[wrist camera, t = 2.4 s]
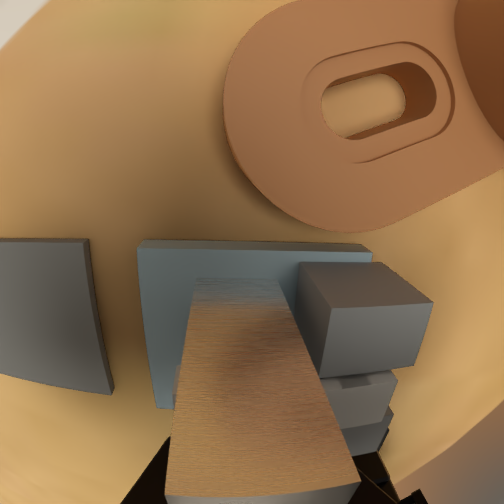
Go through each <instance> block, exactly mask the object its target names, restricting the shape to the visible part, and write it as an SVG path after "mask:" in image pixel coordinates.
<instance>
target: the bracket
mask: <svg viewBox="0 0 504 504" xmlns="http://www.w3.org/2000/svg"><path fill="white" fill-rule="evenodd" d="M377 73H383V74H387V75H389V76H391V77H393V78H394V79H395V80H397V81H398V83H399V84H400V85H401V87H402V88H403V90H404V93H405V96H406V108H405V111H404V113H403V114H402V116H401V117H400V118H399V119H397V120H395V121H392V122H389V123H386V124H384V125H381V126H378V127H375V128H372V129H369V130H367V131H364V132H361V133H358V134H356V135H353V136H350V137H347V138H342V137H340V136H339V135H337V134H336V133H334V132H333V131H332V130H331V129H330V128H329V126H328V125H327V124H326V122H325V120H324V118H323V115H322V111H321V98H322V95H323V92H324V90H325V89H326V88H328V87H331V86H335V85H338V84H341V83H345V82H348V81H351V80H355V79H358V78H362V77H366V76H369V75H373V74H377ZM223 120H224V128H225V133H226V138H227V141H228V144H229V147H230V149H231V152H232V154H233V156H234V158H235V160H236V162H237V164H238V165H239V167H240V169H241V170H242V171H243V173H244V174H245V176H246V177H247V178H248V179H249V180H250V182H251V183H252V184H253V185H254V186H255V187H256V188H257V189H258V190H259V191H260V192H261V193H262V194H263V195H264V196H265V197H266V198H268V199H269V200H270V201H271V202H272V203H273V204H274V205H276V206H277V207H278V208H280V209H281V210H283V211H284V212H285V213H287V214H288V215H290V216H292V217H294V218H296V219H297V220H299V221H302V222H304V223H306V224H309V225H311V226H314V227H317V228H321V229H324V230H329V231H334V232H345V233H354V232H365V231H372V230H376V229H379V228H383V227H385V226H388V225H390V224H393V223H395V222H397V221H399V220H401V219H403V218H405V217H407V216H409V215H411V214H413V213H416V212H418V211H420V210H422V209H424V208H426V207H428V206H430V205H432V204H434V203H436V202H438V201H440V200H442V199H444V198H446V197H448V196H450V195H452V194H454V193H456V192H458V191H460V190H462V189H464V188H466V187H467V186H469V185H471V184H473V183H475V182H477V181H479V180H481V179H483V178H485V177H487V176H489V175H491V174H493V173H494V172H496V171H498V170H500V169H502V168H504V0H298V1H295V2H291V3H288V4H286V5H284V6H281V7H279V8H277V9H275V10H274V11H272V12H270V13H268V14H267V15H266V16H264V17H263V18H262V19H260V20H259V21H258V22H257V23H256V24H255V25H254V26H253V27H252V28H251V29H250V30H249V31H248V32H247V33H246V35H245V36H244V37H243V38H242V40H241V41H240V43H239V45H238V46H237V48H236V50H235V52H234V54H233V56H232V59H231V61H230V63H229V67H228V70H227V74H226V78H225V85H224V97H223Z"/></svg>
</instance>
